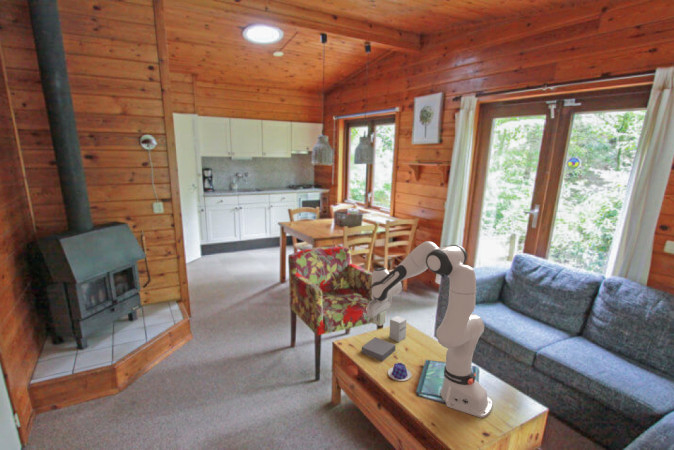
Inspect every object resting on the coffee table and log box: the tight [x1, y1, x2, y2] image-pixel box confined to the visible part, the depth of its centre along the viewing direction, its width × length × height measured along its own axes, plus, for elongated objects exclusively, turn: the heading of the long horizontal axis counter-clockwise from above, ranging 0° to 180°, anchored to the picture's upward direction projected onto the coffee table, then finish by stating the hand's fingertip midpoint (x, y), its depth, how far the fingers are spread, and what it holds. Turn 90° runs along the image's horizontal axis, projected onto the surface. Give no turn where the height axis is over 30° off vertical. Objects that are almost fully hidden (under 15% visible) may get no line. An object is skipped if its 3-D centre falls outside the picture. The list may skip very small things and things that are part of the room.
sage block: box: [372, 311, 386, 327], centre depth 195 cm, size 5×5×7 cm
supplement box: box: [389, 315, 407, 343], centre depth 212 cm, size 7×7×13 cm
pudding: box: [387, 362, 412, 382], centre depth 178 cm, size 12×12×5 cm
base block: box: [361, 336, 396, 362], centre depth 199 cm, size 14×14×4 cm
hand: (379, 318), depth 195 cm, fingers closed on sage block, 5 cm apart
